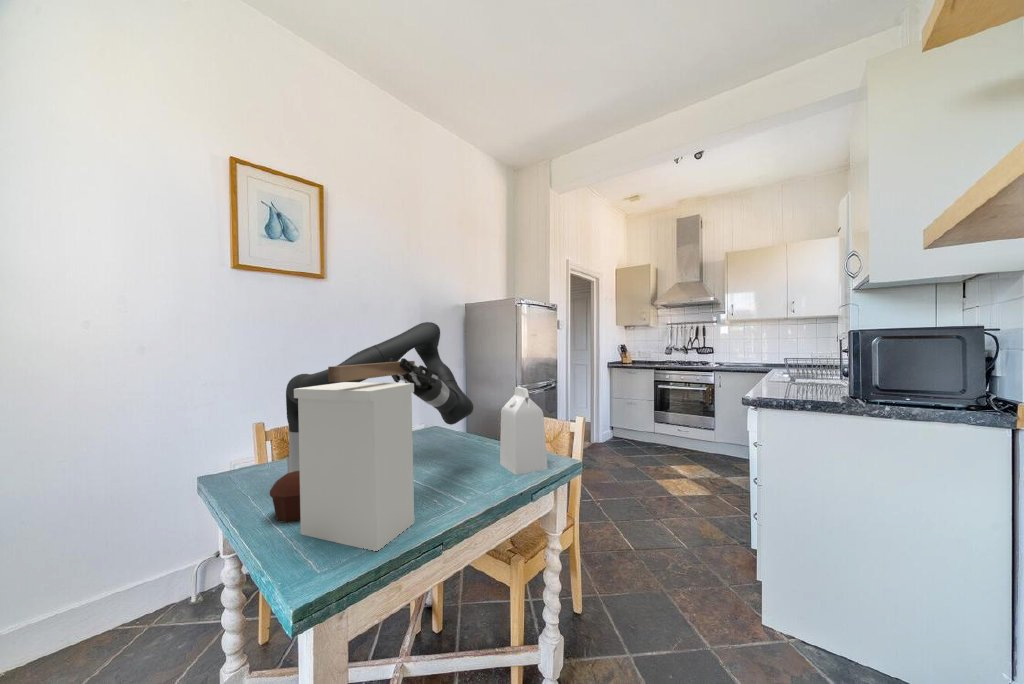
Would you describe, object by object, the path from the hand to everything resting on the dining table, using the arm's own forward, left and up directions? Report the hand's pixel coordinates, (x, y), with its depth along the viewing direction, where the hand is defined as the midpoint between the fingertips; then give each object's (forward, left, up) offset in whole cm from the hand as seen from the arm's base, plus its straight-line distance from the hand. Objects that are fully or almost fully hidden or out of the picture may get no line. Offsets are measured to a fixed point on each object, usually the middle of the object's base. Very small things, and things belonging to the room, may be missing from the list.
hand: (395, 361), depth 89 cm
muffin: (-24, -8, -37) cm, 45 cm away
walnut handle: (0, -7, -3) cm, 7 cm away
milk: (+18, +40, -37) cm, 58 cm away
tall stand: (-4, -10, -37) cm, 38 cm away
